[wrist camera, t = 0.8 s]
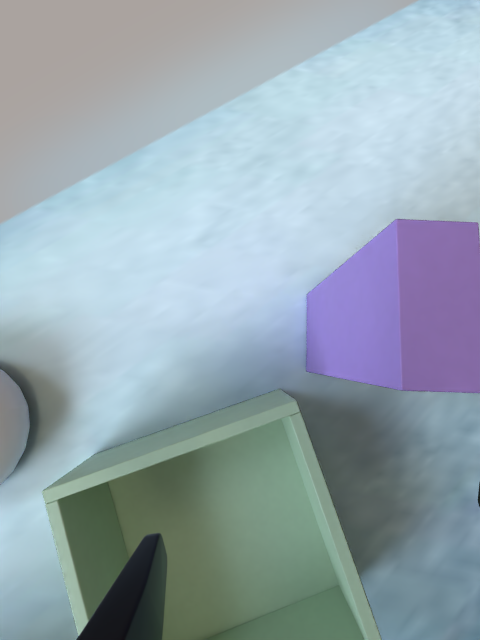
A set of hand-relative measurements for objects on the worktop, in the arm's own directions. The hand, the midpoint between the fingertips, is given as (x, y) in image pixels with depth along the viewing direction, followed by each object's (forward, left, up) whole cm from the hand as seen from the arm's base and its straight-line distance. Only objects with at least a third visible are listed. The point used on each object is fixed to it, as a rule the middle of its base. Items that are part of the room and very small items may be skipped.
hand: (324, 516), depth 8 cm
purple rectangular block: (+4, -6, -14) cm, 16 cm away
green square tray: (-6, +6, -14) cm, 16 cm away
